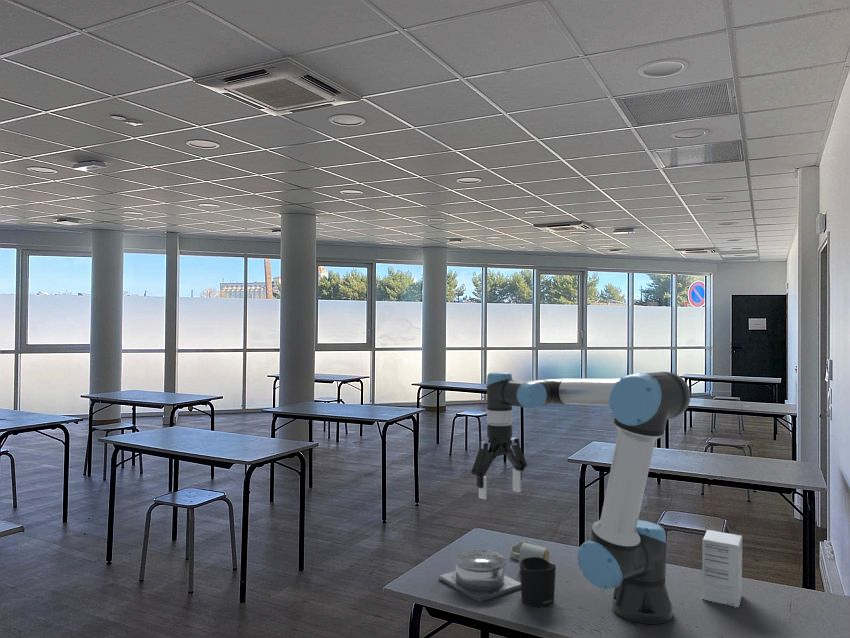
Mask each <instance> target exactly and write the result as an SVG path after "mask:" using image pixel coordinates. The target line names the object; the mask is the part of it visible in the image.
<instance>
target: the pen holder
mask: <svg viewBox="0 0 850 638" xmlns="http://www.w3.org/2000/svg"><path fill="white" fill-rule="evenodd" d="M556 567H557V566H556V564H554V563H550V561H549V562H548V561H546V560H545V559H543V558H540V557H529V558H525V559H523V560H521V569H520V583H521V589H520V591H521V600H522V602H523V603H525V604H526V605H528V606H531V607H536V608H546V607H549V606H551V605H552V604H553V603H554V602H555V590H556V589H555V588H556V587H555V586H556Z"/></svg>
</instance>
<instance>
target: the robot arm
mask: <svg viewBox="0 0 850 638" xmlns="http://www.w3.org/2000/svg"><path fill="white" fill-rule="evenodd" d="M486 377H487V378H486V385H485V386H486V422H487V423H488V424H487V425H486V435H487V438H488V442H485V441H480V442H479V447H478V448H479V449H478V451H477V455H476V458H475V461H474V464H473V466H472V469H471V472H470V473H471V475H473V476H476V486H477V488H478V498H479V499H482V500H485V501H486V500H488V499H487V498H488V497H487V496H488V495H487V493H488V490H487V484H488V483H487V476H485V475H486V474H487V472H488V470H489V468H490V467H491V465H492V463H493V461H494V460H495V459H496V458H497V457H500V456H502V455H503V456H506V458H507V459H508V461H509V463H510V464H511V465H512V466H513V469H512V491H513V492H515V493H521V492H522V489H521V488H522V486H521V484H522V483H521V481H522V479H523V471H525V468H527V467H528V464H527V463H528V462H527V461H526V458H525V455H524V453H523V450H522V448H521V446H520V439H519V438H518V437H514V436H513V425H512V423H513V407H518V408H519V407H521V408H526V409H529V410H530V409H540V408H541V407H542V406H546V405H574V406H576V405H578V406H593V407H594V406H597V407H599V406H601V407H609V409H610V410H611V414H612V416H613V417H614V419H613V425H614V427H615V428H616V430H617V432H618V433H617V436H616V441H615V447H614V452H613V455H612V461H611V465H610V470H609V471H610V472H609V476H608V480H607V486H606V491H605V496H604V500H603V505H602V510H601V514H600V519H599V520H597V521H595V522H594V523H593V524H592V527H591V531H590V535H589V540H586V541H585V542H584V541H583V543H582V544H581V545H580V546H579V548H578V551H577V562H578V567H579V569H580V570H581V571H582V574H583V576H584V577H585V579H586V580H587V581H588V582H589V583H590V584H591V585H593V586H594V587H596V588H598V589H601V590H610V589H614V590H613V592H612V593H613V594H612V597H611V608H612V611H613V612H614V613H616V615H618V616H620V617H621V618H623V619H625V620H628V621H631V622H635V623H640V624H643V625H647V624H648V625H659V624H664V623H668V622H669V621H671V619H672V618H673V612H674V611H673V610H674V609H673V605H672V602H671V601H672V600H671V597H670V594H669V592H668V587H667V585H666V580H667V579H666V578H667V577H666V576H667V575H666V574H667V571H666V570H667V536H666V530H665V529H664V528H663V527H662V526H660V525H659V524H656V523H654V522H651V521H646V520H641V519H639V517H640V513H641V507H642V503H643V500H644V494H645V489H646V485H647V481H648V480H647V479H648V475H649V471H650V466H651V462H652V457H653V453H654V448H655V443H656V440H658V439H661V438H662V437H663V436H664V434H665V430H666V426H667V421H668V420H671V419H674V418H677V417H679V416H680V415H682V414H683V413H685V411H687V409H688V407H689V405H690V402H691V391H690V387H689V386H688V385H689V384H687V382H686V381H685V380H684V379H683V377H681V376H680V375H678V374H676V373H674V372H670V371H656V372H637V373H632V374H629V375H625V376H623V377H621V378H564V377H554V378H545V379H533V380H532V379H531V380H517V379H516V380H513V375H512V373H511V372H508V371H507V372H506V371H493V372H492V371H491V372H489V373H488V374H487V376H486Z"/></svg>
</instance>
